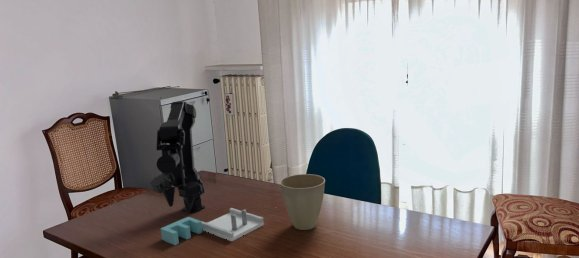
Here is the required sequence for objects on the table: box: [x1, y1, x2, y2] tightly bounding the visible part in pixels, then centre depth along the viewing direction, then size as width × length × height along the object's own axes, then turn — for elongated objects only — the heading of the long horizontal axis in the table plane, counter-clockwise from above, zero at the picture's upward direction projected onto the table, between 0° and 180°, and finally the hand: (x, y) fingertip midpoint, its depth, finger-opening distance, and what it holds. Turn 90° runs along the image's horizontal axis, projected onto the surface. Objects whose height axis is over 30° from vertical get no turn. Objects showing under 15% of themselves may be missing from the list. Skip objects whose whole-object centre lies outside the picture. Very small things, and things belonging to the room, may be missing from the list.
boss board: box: [200, 207, 265, 242], centre depth 155 cm, size 16×15×6 cm
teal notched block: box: [160, 216, 203, 246], centre depth 150 cm, size 7×11×4 cm, turn 139°
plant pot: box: [279, 173, 326, 231], centre depth 152 cm, size 15×15×16 cm
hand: (179, 209), depth 149 cm, fingers open, 9 cm apart
